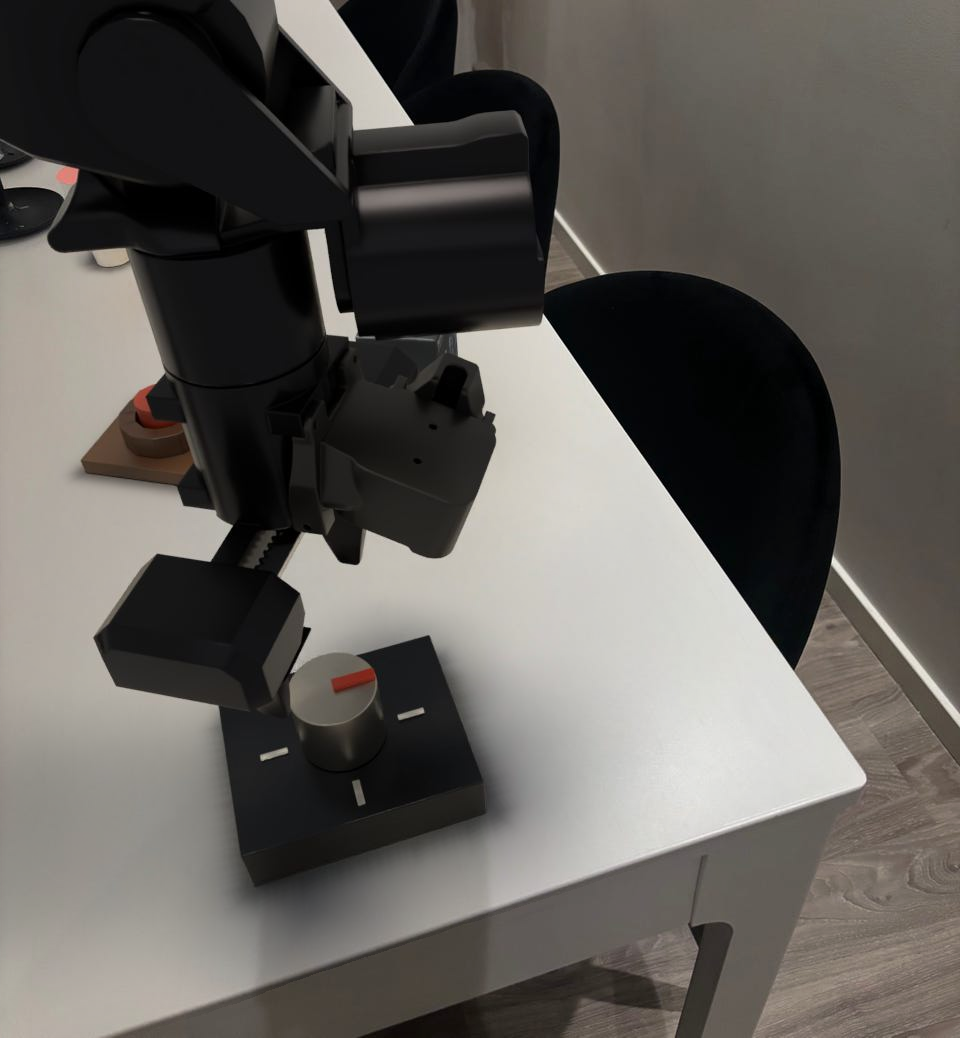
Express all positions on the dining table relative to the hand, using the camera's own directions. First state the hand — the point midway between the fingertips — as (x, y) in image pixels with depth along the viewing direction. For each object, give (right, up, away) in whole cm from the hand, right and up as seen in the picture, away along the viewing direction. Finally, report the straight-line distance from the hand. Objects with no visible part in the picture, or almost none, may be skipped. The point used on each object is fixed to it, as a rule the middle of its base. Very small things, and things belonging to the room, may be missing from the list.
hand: (316, 632), depth 44 cm
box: (+3, +12, +29) cm, 31 cm away
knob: (0, -6, +5) cm, 8 cm away
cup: (-29, +31, +52) cm, 67 cm away
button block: (-16, +11, +29) cm, 35 cm away
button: (-16, +13, +27) cm, 34 cm away
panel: (+1, -8, +8) cm, 11 cm away
